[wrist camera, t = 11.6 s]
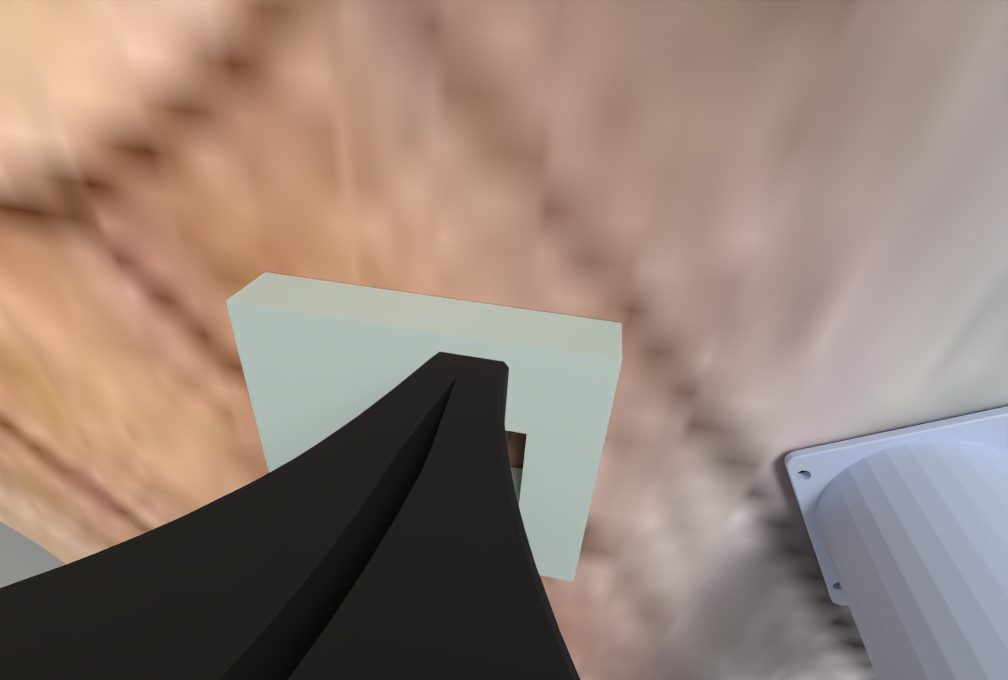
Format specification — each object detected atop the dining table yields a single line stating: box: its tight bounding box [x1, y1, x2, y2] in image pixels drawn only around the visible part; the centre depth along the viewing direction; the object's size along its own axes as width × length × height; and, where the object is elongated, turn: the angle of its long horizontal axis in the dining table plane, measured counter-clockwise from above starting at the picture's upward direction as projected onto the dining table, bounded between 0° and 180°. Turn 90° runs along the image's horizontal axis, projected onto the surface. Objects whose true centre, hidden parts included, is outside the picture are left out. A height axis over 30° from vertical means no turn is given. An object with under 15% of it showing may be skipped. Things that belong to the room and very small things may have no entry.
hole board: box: [226, 272, 622, 582], centre depth 22 cm, size 14×12×2 cm
